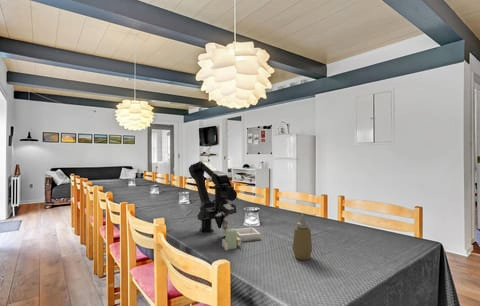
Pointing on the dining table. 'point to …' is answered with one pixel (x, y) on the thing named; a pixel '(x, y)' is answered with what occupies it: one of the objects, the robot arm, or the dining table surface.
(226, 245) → the crank housing
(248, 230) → the tray
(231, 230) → the block
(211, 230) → the robot arm
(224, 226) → the crank
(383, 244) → the dining table surface
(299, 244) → the squeeze bottle
